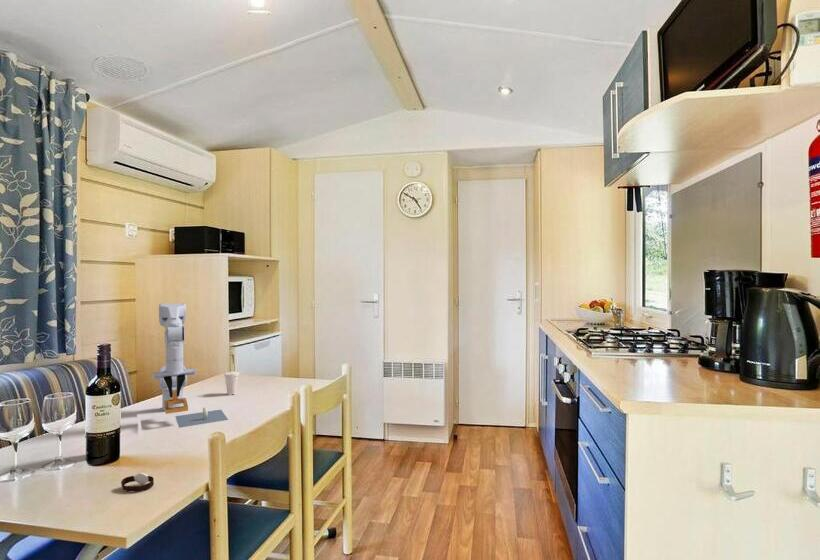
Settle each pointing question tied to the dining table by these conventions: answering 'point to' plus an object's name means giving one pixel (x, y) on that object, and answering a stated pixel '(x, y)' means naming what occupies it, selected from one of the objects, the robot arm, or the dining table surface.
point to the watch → (140, 479)
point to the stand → (201, 418)
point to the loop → (175, 401)
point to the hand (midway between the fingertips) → (174, 396)
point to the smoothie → (231, 381)
